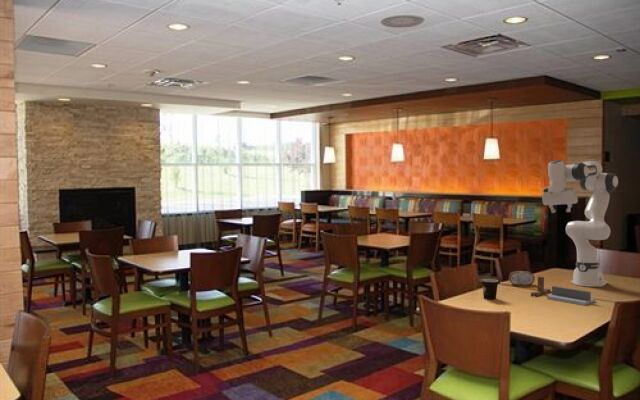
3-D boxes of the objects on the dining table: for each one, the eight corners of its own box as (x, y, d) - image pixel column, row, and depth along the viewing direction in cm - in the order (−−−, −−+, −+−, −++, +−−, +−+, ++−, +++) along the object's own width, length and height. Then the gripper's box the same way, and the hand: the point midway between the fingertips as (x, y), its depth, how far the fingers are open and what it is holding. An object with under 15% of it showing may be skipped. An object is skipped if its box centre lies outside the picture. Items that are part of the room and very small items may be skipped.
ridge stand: (558, 295, 300) (558, 284, 299) (595, 301, 284) (595, 290, 284) (547, 298, 291) (547, 287, 291) (584, 305, 276) (584, 294, 276)
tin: (533, 284, 329) (533, 271, 328) (535, 285, 326) (535, 272, 325) (508, 284, 330) (508, 270, 330) (509, 285, 327) (509, 271, 327)
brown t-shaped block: (546, 291, 310) (546, 274, 309) (550, 292, 308) (550, 275, 307) (530, 296, 298) (530, 278, 298) (534, 297, 296) (535, 279, 296)
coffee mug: (499, 300, 288) (499, 282, 287) (482, 299, 290) (482, 281, 289) (496, 295, 299) (496, 278, 299) (480, 295, 301) (480, 277, 300)
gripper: (578, 186, 298) (581, 211, 298) (546, 189, 315) (548, 212, 315) (571, 187, 295) (574, 212, 295) (539, 190, 312) (542, 213, 312)
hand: (560, 212), depth 305 cm, fingers open, 8 cm apart
